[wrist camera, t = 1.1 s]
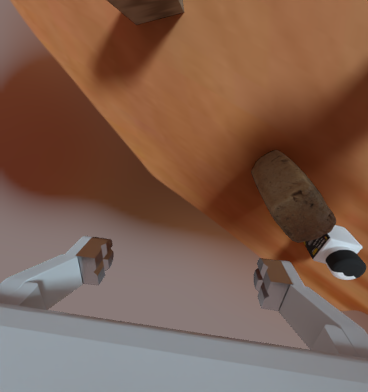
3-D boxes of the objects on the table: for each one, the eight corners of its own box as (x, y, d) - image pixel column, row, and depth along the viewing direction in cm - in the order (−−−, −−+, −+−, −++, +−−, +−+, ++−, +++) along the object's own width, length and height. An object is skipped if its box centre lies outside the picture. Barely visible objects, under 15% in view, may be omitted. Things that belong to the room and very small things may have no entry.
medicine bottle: (316, 219, 47) (343, 255, 36) (344, 227, 47) (380, 265, 36) (301, 240, 50) (322, 278, 40) (328, 247, 50) (356, 287, 40)
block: (245, 163, 43) (262, 209, 26) (277, 143, 40) (320, 180, 23) (269, 197, 46) (299, 259, 29) (300, 181, 43) (355, 239, 26)
